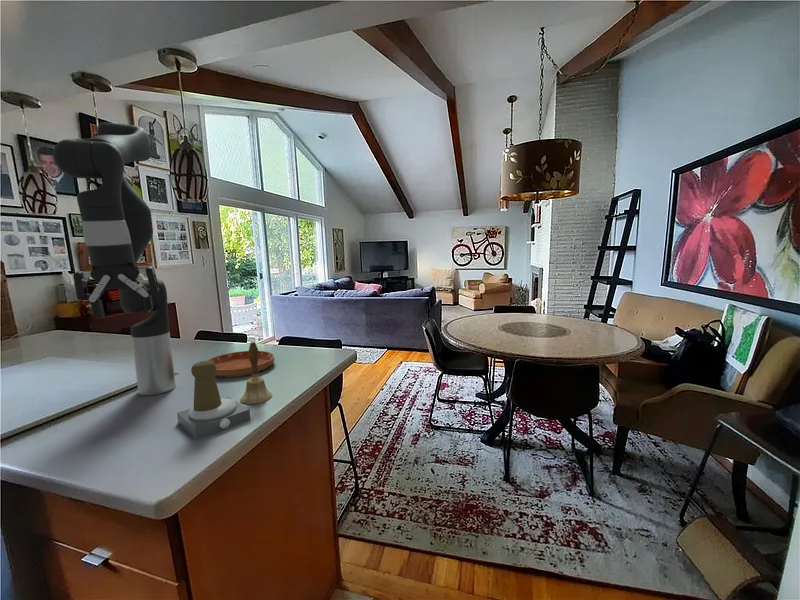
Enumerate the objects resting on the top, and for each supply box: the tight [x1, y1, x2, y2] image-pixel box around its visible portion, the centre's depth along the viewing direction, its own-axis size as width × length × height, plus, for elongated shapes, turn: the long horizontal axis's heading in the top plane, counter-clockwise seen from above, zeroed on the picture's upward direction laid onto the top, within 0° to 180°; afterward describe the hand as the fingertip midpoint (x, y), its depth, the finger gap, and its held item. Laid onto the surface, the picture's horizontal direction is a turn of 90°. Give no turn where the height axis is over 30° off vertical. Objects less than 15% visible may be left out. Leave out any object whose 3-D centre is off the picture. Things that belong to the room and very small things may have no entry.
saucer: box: [206, 350, 275, 378], centre depth 123 cm, size 23×23×4 cm
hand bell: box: [239, 341, 273, 405], centre depth 96 cm, size 8×8×16 cm
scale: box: [176, 396, 251, 440], centre depth 84 cm, size 12×12×4 cm
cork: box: [190, 360, 222, 411], centre depth 83 cm, size 6×6×11 cm
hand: (125, 314), depth 78 cm, fingers open, 8 cm apart
